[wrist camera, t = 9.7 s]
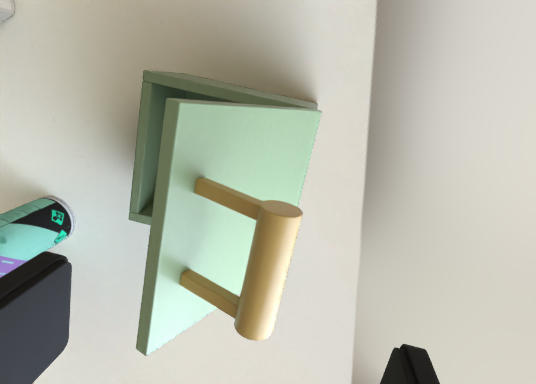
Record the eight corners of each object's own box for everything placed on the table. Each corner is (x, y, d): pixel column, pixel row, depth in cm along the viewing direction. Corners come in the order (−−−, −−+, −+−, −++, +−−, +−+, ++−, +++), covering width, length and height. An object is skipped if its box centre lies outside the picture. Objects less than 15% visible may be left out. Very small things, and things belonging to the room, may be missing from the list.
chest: (167, 191, 40) (128, 219, 32) (183, 73, 36) (143, 70, 28) (288, 221, 39) (280, 258, 31) (317, 103, 36) (317, 109, 27)
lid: (135, 348, 19) (230, 421, 16) (165, 97, 15) (297, 137, 12) (275, 259, 31) (343, 291, 28) (312, 108, 27) (394, 129, 24)
